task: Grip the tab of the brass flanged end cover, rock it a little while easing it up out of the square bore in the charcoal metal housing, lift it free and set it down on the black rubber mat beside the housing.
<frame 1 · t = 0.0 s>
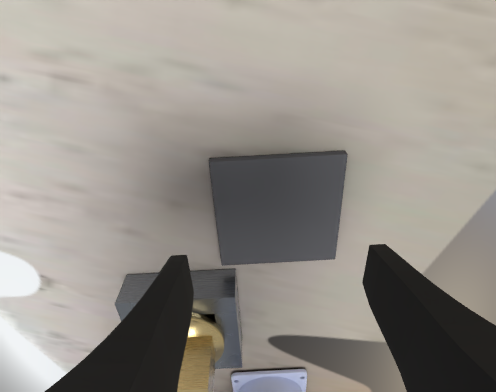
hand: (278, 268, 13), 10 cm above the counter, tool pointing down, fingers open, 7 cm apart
housing: (189, 308, 28), on the counter
mat: (277, 210, 23), on the counter
end cover: (182, 349, 25), in the housing
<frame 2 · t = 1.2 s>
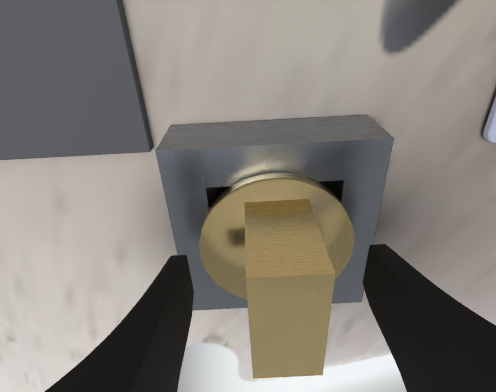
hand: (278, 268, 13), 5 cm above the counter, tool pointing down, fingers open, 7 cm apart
housing: (269, 203, 17), on the counter
mat: (19, 48, 13), on the counter
end cover: (277, 253, 13), in the housing
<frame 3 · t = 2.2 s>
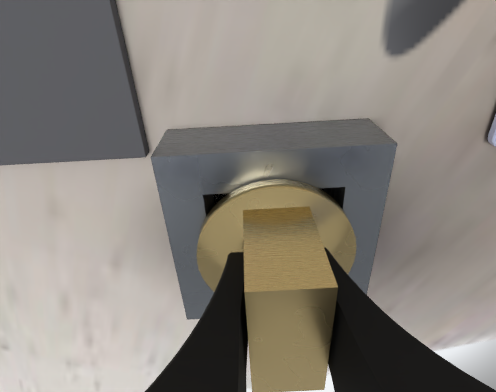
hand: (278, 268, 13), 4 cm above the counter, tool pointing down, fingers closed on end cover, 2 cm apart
housing: (268, 208, 16), on the counter
mat: (10, 51, 12), on the counter
end cover: (276, 261, 13), in the housing, touching gripper
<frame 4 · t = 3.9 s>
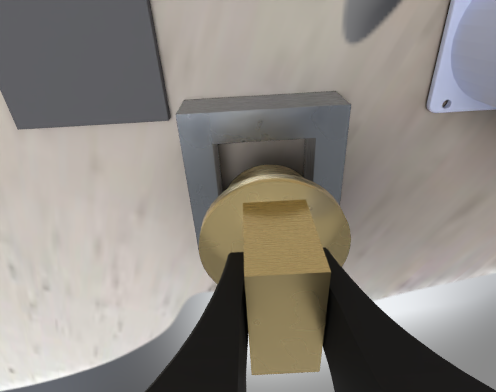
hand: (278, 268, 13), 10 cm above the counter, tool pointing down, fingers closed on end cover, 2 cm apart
housing: (262, 164, 21), on the counter
mat: (72, 40, 17), on the counter
end cover: (275, 252, 14), point 9 cm above the counter, touching gripper
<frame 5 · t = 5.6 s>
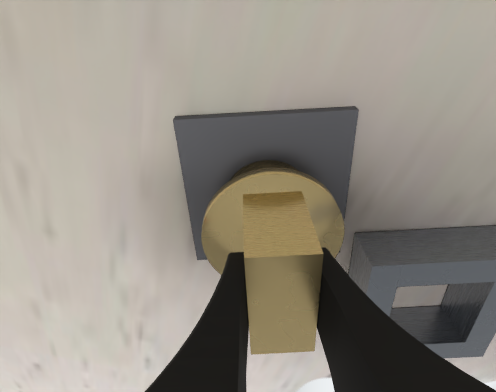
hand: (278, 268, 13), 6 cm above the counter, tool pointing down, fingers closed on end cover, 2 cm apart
housing: (411, 280, 22), on the counter
mat: (266, 189, 18), on the counter
end cover: (273, 242, 14), on the mat, point 4 cm above the counter, touching gripper
when the fingers open (6 cm above the counter, at t = 6.1 s): end cover stays where it is, resting on mat.
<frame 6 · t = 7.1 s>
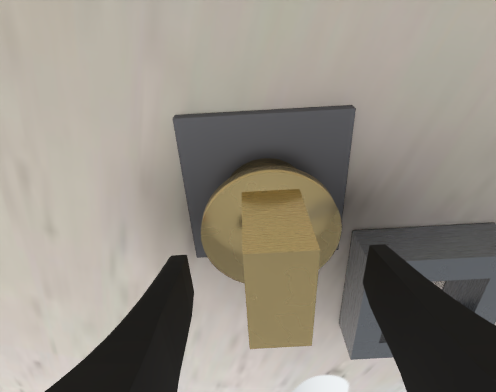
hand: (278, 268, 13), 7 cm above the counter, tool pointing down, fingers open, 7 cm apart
housing: (408, 277, 22), on the counter
mat: (265, 187, 18), on the counter
end cover: (271, 239, 15), on the mat, point 4 cm above the counter
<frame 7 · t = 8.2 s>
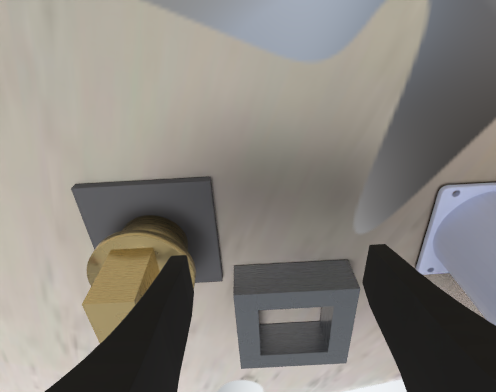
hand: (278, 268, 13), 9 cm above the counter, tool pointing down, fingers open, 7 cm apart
housing: (289, 301, 27), on the counter
mat: (156, 234, 23), on the counter
end cover: (140, 281, 20), on the mat, point 4 cm above the counter
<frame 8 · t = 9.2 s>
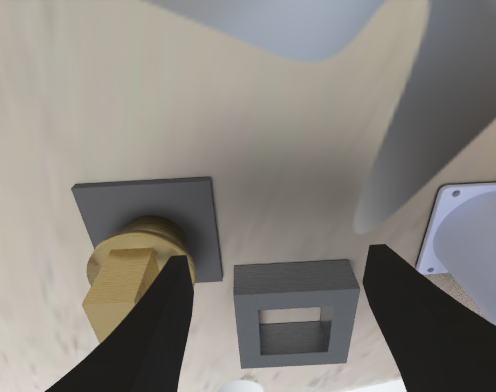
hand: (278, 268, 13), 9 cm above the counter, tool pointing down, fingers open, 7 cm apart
housing: (289, 301, 27), on the counter
mat: (156, 234, 23), on the counter
end cover: (140, 281, 20), on the mat, point 4 cm above the counter
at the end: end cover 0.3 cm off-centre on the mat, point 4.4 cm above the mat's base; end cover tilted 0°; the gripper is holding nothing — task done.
